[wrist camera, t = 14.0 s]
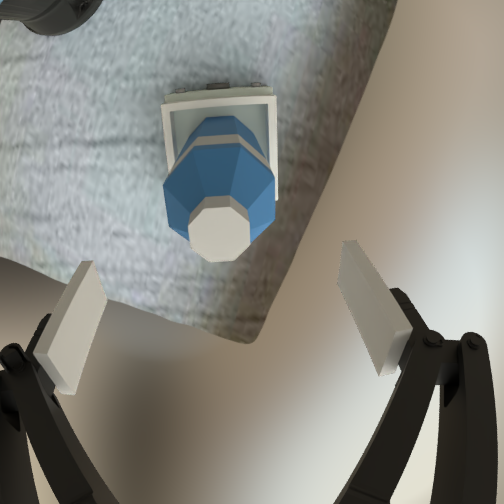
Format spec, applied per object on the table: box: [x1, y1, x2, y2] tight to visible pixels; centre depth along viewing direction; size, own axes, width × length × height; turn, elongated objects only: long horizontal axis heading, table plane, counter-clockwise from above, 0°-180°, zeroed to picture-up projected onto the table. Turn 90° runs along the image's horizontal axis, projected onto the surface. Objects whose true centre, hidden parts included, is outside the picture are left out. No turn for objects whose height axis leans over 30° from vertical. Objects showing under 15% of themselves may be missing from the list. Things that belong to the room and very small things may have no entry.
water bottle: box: [163, 116, 275, 262], centre depth 31 cm, size 9×9×25 cm
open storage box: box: [161, 83, 278, 200], centre depth 42 cm, size 17×14×8 cm
